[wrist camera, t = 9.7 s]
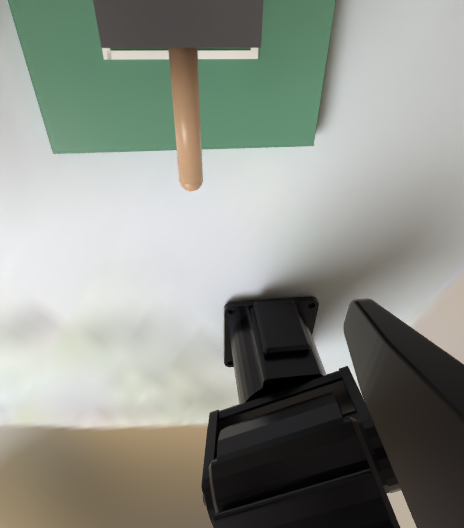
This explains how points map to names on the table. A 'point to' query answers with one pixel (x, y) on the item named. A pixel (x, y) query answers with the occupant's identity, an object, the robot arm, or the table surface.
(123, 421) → the table surface
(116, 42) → the grey ice pop
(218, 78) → the pcb board
